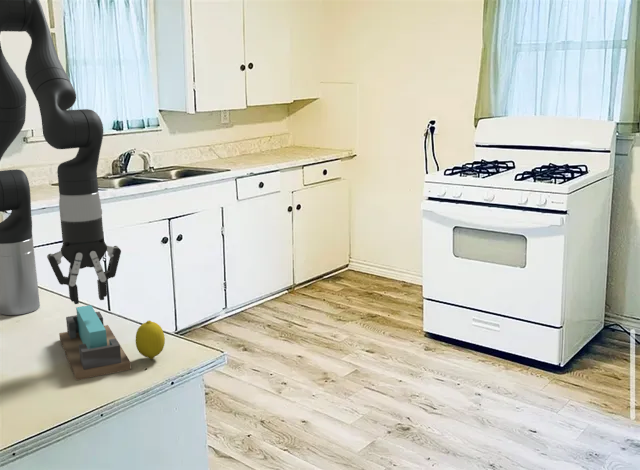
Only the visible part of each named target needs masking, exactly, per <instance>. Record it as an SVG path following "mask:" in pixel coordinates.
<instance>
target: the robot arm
mask: <svg viewBox="0 0 640 470" xmlns="http://www.w3.org/2000/svg"><path fill="white" fill-rule="evenodd" d="M1 32H21V33H22V32H26V33H27V35H28V36H29V37H30V40H31V43H30V48H29V52H28V54H27V57H26V61H25V66H24V70H25V71H24V72H25V78H26V81H27V83H28V85H29V87H30V89H31V91H32V93H33V95H34V98H35V99H36V101H37V103H38V108H39V112H40V113H39V114H40V118H41V119H40V120H41V128H42V134H43V138H44V140H45V142H47V144H48V145H50V146H51V147H52V148H54V149H56V150H70V149H78V150H77V153H76V156H75V157H74V158H72V159H69V160H65V161H63V162H61V163H60V164H59V165H58V166H57V171H56V172H57V183H58V184H57V185H58V193H59V199H58V200H59V201H58V205H59V209H58V210H59V216H60V217H59V218H60V229H61V238H62V239H61V240H62V246H61V248H60V250H59V251H57V252H55V253H48V254H47V256H46V258H47V260H48V262H49V264H50V267H51V269H52V271H53V273H54V275H55V277H56V279H57V281H58V283H59V284H60V285H62V286H63V285H67V286H68V295H69V299H70V300H71V302H72V303H73V304H74V305H79V303H80V301H79V292H78V291H79V290H78V285H77V279H78V276H79V272H80V270H81V269H85V268H93V269H94V271H95V274H96V276H97V278H98V279H97V281H96V283H97V291H98V293H97V294H98V299H99V301H104V300H105V297H107V295H108V288H107V287H108V286H107V281H108V280H109V279H113V278H115V276H116V275H117V274H116V273H117V270H118V265H119V262H120V258H121V254H122V250H121V248H120V247H119V246H118V245H114V246H111V245H107V244H106V242H105V238H104V237H105V236H104V227H103V224H104V223H103V216H102V215H103V209H102V202H101V199H100V193H99V181H98V165H99V159H100V158H99V157H100V153H101V148H102V144H103V139H104V124H103V121H102V119H101V117H100V115H98V113H97V112H95V111H94V110H92V109H89V108H88V109H87V108H84V109H71V108H72V107H73V106H74V104H75V102H76V101H77V93H76V90H75V88H74V86H73V84H72V82H71V80H70V79H69V77H68V75H67V73H66V71H65V69H64V67H63V65H62V63H61V61H60V59H59V55H58V53H57V50H56V47H55V44H54V40H53V37H52V35H51V31H50V27H49V24H48V21H47V18H46V15H45V13H44V9H43V7H42V4H41V1H40V0H0V34H1ZM1 45H2V44H1V42H0V161H1V160H2V158H3V156H4V155H5V153H6V152H7V150H8V148H9V147H10V146H11V145H12V143H13V142H14V141H15V140H16V138H17V137H18V135H19V134H20V132H21V131H22V129H23V128H24V125H25V122H26V113H27V111H26V110H27V94H26V90H25V88H24V85H23V83H22V82H21V80H20V79H19V77H18V75H17V74H16V72H15V71H14V69H12V67H11V65H10V64H9V62H8V60H7V59H6V57H5V55H4V53H3V50H2V46H1ZM8 211H10V214H9V215H8V216H7V217H6V218H5V219H4V220H3V221H1V222H0V315H5V316H16V315H17V316H18V315H23V314H28V313H33V312H35V311H37V310H38V309H40V306H41V304H40V303H41V302H40V294H39V293H40V292H39V284H38V283H39V282H38V274H37V266H36V264H37V263H36V256H35V255H36V254H35V248H34V239H33V238H34V237H33V218H32V201H31V185H30V182H29V178H28V176H27V174H26V173H25V172H24V171H23V170H22V169H18V168H17V169H16V168H15V169H5V170H4V169H3V170H0V213H1V212H8ZM106 252H107V255H108V257H109V260H108V265H107V269H106V270H105V271H104V268H103V266H102V264H101V260H102V259H103V257H104V255H105V254H106ZM62 258H64V259H65V260H66V261H67V262H68V263H69V268H68V275H67V276H64V275H63V271H62V270H61V268H60V266H59V265H60V264H61V263H62V260H61V259H62Z"/></svg>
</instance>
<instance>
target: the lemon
mask: <svg viewBox="0 0 640 470" xmlns="http://www.w3.org/2000/svg"><path fill="white" fill-rule="evenodd" d="M165 342H166V339H165V333H164V331H163V327H161V325H160V324H158V323H157V322H155V321H151V320H147V321H146V322H143V323H142V324H141V325H140V326H139V327H138V328H137V330H136V333H135V346H136V349H137V351H138V353H139V354H140V355H141V356H143V357H145V358H148V359H149V360H153V359H154V358H155V357H156V356H159V355H160V354H161V353H162V352H163V350H164V347H165Z"/></svg>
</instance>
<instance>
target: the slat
mask: <svg viewBox="0 0 640 470" xmlns="http://www.w3.org/2000/svg"><path fill="white" fill-rule="evenodd" d="M75 308H76V315H77V321H78V331H79V336H80V338H81V340H82V342H83V344H86V346H87V348H88V349H92V348H97V347H103V346H107V337H106V329H105V328H104V326H105V325H104V326H103V324H104V323H103V324H102V323H101V321H100V319H99V317H98V316H97V314H96V312H97V311H95V309H94V307H93V305H92V304H89V305H82V306H78V307H77V306H76V307H75Z"/></svg>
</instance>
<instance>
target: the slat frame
mask: <svg viewBox="0 0 640 470" xmlns="http://www.w3.org/2000/svg"><path fill="white" fill-rule="evenodd" d="M95 312H96V314H97V316H98V317H99V319H100V321H101V323H102V324H103V326H104V328H105V329H106V337H107V346H103V347H97V348H92V349H88V348H87V346H86V344H83V342H82V340H81V338H80V336H79V331H78V321H77V314H76V315H71V316H66V317H65V320H66V322H65V323H66V329H67V330H66V331H65V332H64V331H63V332H59V334H58V335H59V341H60V344H61V345H62V348H63V350H64V354H65V356H66V358H67V362H68V365H69V366H70V369H71V371H72V374H73V376H74V379H75V381H78V380H80V381H81V380H83V379H90V378H95V377H98V376H99V377H100V376H104V375H110V374H113V373H114V374H115V373H120V372H124V371H130V370H132V366H131V364H132V363H131V361H130V359H129V358H128V356H127V354H126V352H125V351H124V349H123V348H122V345H121V344H120V342H119V341H118V339H117V337H116V335H115V334H114V332H113V331H112V330H111V328H110V326H109V325H108V324H106V325H105V324H104V318H103V315H102V314H101V312H100V311H95Z"/></svg>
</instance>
